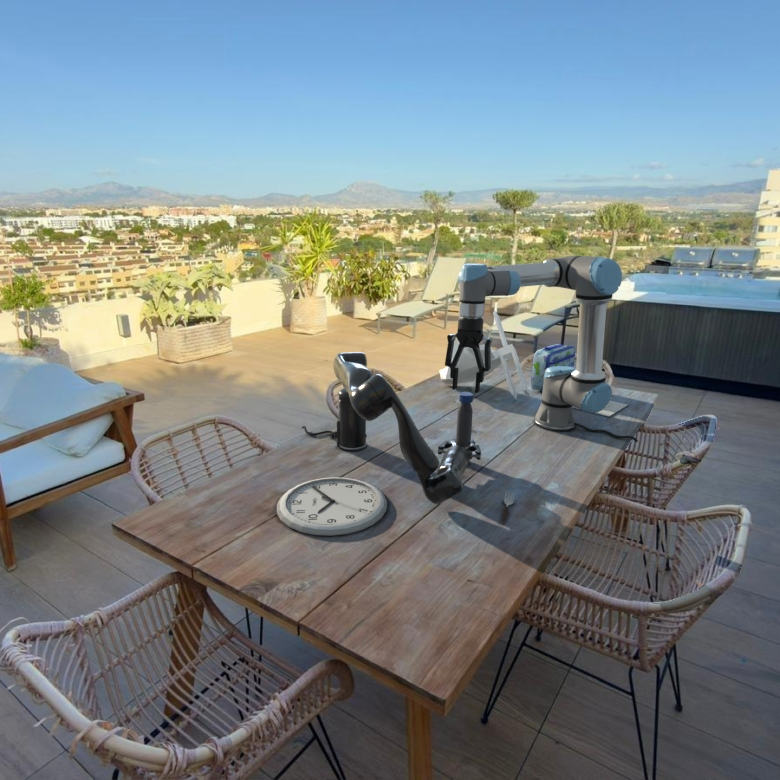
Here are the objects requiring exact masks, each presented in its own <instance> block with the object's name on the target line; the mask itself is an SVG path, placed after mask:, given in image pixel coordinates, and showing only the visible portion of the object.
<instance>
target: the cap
mask: <svg viewBox="0 0 780 780" xmlns="http://www.w3.org/2000/svg"><path fill="white" fill-rule="evenodd" d="M458 396H459V397H458V401H459V402H460V403H461V402H462V403H471V404H472V403H473V402H474V393H472V392H470V391H461V392H459V394H458Z"/></svg>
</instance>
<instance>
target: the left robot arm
mask: <svg viewBox="0 0 780 780" xmlns="http://www.w3.org/2000/svg"><path fill="white" fill-rule="evenodd" d="M333 371H334V375H335V378H336V379H337V380H338V381H339V382H341V384H342V386H343V388H341V389H340V390H339V391H338V420H336V430H334V431H333V430H323V431H318V432H314V433H313V432H309V431H308V429H307V427H306V425H302V427H301V429H303V430H304V432H305V433H306V434H307V435H308V436H319V435H324V434H330V437H331V439H336V447H337V448H340V449H342V450H343V451H349V452H355V451H356V452H357V451H362V450H363V449H366V447H367V438H368V437H367V436H368V435H367V422H371V421H375V420H376V419H378V418H379V417H380V416H382V415H383V414H385V413H386V412H387V411H389V409H391V410H392V411H393V412H394V414H395V417H396V420H397V427H398V440H399V447H400V448H399V449H400V452H401V454H402V456H403V458H404V460H405V461H406V462H407V463H408V465H409V466H410V467H411V468H412V470H413V472H415V474H416V476H417V478H418V480H419V483H420V485H421V488H422V490H423V493H424V496H425V498H426V499H427V500H428V502H429V503H432V504H435V505H437V504H441V503H444V502H445V501H448V500H450V499H453V498H455V497H457V496H459V495H460V494H461V493H462V492H463V490H464V484H463V480H462V477H463V476H464V473H465V471H466V470H467V468H468V465H469V464H468V462H469V463H470V460H472V459H473V458H474V459H476V460H477V461H480V460H481V459H482V458H481V457H482V451H481V446H480V445H479V444H476V441H475V440H474V439H471V442H470V444H469V445H468V444H467V445H466V446H463V447H462V446H458V445H456V436H455V438H452V440H451V441H449V440H444V441H443V442H442V443H440V444H439V445H438V446H437V454H438V455H443V456H442V458H441V460H439V458H438V456H437V455H436V454H435V453H434V451H433V449H432V448H431V447H430V445H428V443H427V442H426V440H425V438H424V437H423V435H422V434H421V433H420V431H419V429H418V427H417V426H416V424H415V422H414V420H413V419H412V416H411V415H410V413H409V412H408V411H409V410H407V408H406V407H405V405H404V403H403V401H402V400H401V398H400V396H399V395H398V394H397V392H396V390H395V389H394V387H393V386H392V384H391V383H390V382H389V381H388V379H387V378H385V377H384V376H383V375H382V374H379V373H376V374H374V373H373V372H372V371H371V369H370V368H369V367H368V359H367V355H366V353H364V352H363V351H347V352H339V353H337V354H336V355H335V356H334V359H333ZM435 472H436V475H435V476H432V475H433V474H434V473H435Z"/></svg>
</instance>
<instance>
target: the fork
mask: <svg viewBox="0 0 780 780" xmlns="http://www.w3.org/2000/svg"><path fill="white" fill-rule="evenodd" d="M515 492H516V491H511V493H510V490H509V491H508V490H506V491H505V495H504V499H503V503H504V504H505V505H506V506H505V508H504V509H503V510H502V517H501V524H503V523H504V521H505V519H506V517H507V515H508V509H509V506H511V505H513V504H514V501H515V500H514V499H515ZM507 494H508V495H507Z"/></svg>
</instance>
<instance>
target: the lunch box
mask: <svg viewBox="0 0 780 780" xmlns="http://www.w3.org/2000/svg"><path fill="white" fill-rule="evenodd" d="M575 357H576V349H575V346H572V345H565V344H560V343H555V344H552V345H547V346H545V347H542V348H539V349H537V350H536V351H535V353H534V355H533V358H532V363H531V364H532V365H531V376H530V377H531V378H530V387H531V389H532V390H536V391H539V392H540V391H541V392H542V390H543V378H544V375H545V370H546V369H547V368H549V367H555V366H568V367H575V360H576V358H575Z"/></svg>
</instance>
